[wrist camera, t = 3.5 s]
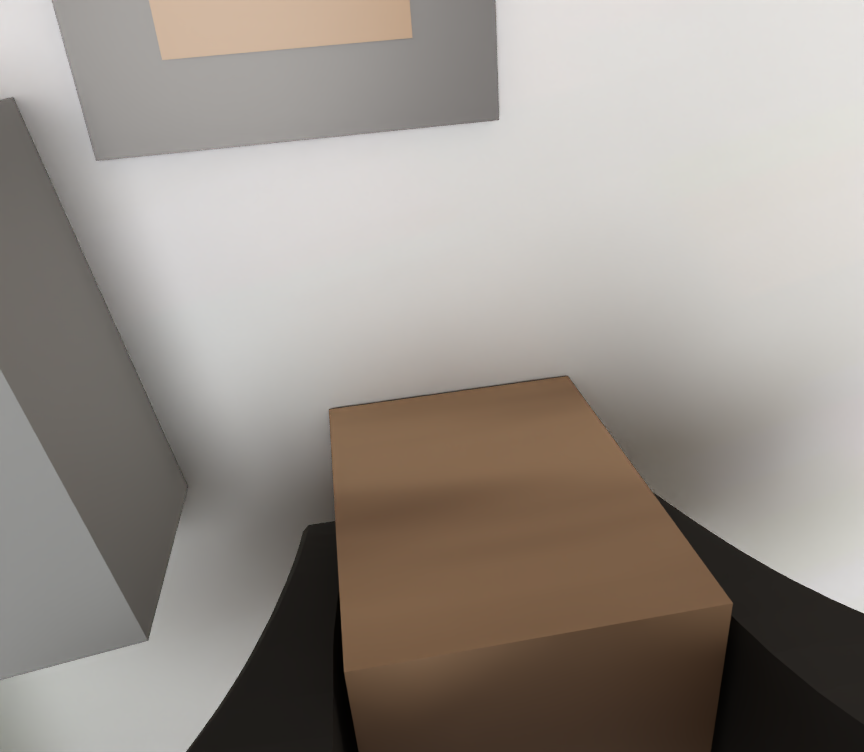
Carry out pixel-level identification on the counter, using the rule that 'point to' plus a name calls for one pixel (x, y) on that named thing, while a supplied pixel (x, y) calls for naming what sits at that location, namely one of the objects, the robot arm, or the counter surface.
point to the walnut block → (515, 582)
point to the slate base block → (70, 442)
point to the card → (274, 69)
